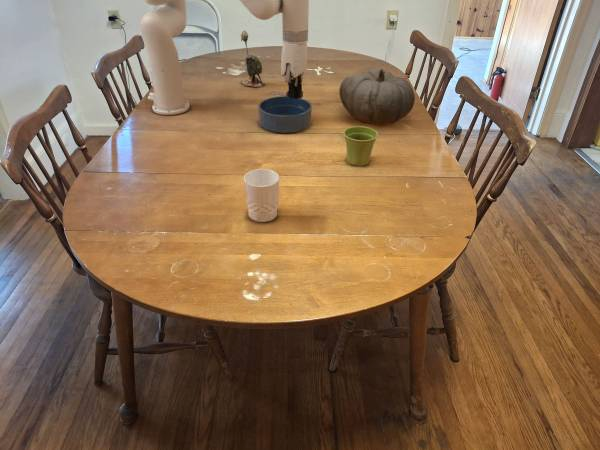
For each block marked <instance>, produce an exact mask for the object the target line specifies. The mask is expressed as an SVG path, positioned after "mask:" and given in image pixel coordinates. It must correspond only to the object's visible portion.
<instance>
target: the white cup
mask: <svg viewBox="0 0 600 450" xmlns="http://www.w3.org/2000/svg"><path fill="white" fill-rule="evenodd" d="M243 182H244V183H243V184H244V191H245V199H246V200H245V201H246V205H247V212H248V217H249V218H250V219H251V220H252V221H255V222H258V223H266V222H267V223H268V222H271V221H273V220H275V218H276V217H277V216H278V205H279V194H280V174H278V173H277V172H276V171H274V170H272V169H268V168H258V169H252V170H250V171H248V172H246V173H245V174H244V176H243Z"/></svg>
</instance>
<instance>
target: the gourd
mask: <svg viewBox="0 0 600 450" xmlns="http://www.w3.org/2000/svg"><path fill="white" fill-rule="evenodd" d="M338 90H339V91H338V93H339V98H340V102H341V104H342V106H343V107H344V108H345V110H346V111H347V112H348V113H349V115H350V116H351V117H353V118H354V119H355V120H357V121H362V122H365V123H366V124H374V125H380V126H385V125H390V124H391V125H392V124H395V123H397V122H398V121H401V120H402V119H403V118H405V117H406V116H407V115H408V114H409V113H410V112H412V109H414V108H413V107H414V106H415V101H416V99H415V97H416V96H415V92H414V88H413V87H412V85H411V84H410V83H409V81H408V80H407V79H405V78H403V77H401V76H395V75H394V74H392V73H391V72H390V71H385V70H384V69H383V68H371V69H367V70H366V71H363V72H361V73H360V74H357V75H349V76H347V77H345V78H344V79H343V80H342V81H341V83H340V85H339V89H338Z"/></svg>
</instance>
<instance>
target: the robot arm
mask: <svg viewBox="0 0 600 450" xmlns="http://www.w3.org/2000/svg"><path fill="white" fill-rule="evenodd" d="M239 1H240V2H241V4H242V5H243V7H245V8H246V9H247V10H248V12H249V13H250V14H251V15H253V16H254V18H256V19H259V20H261V21H267V20H270V19H271V18H273V17H274V16H276V15H279V14H282V15H281V16H282V17H281V18H282V19H281V20H282V22H281V23H282V47H281V48H282V49H281V58H280V59H281V60H280V76H281V77H285V79H284V81H285V83H287V86H288V90H289V98H295V99H298V95H299V91H303V78H304V77H303V76H304V74H305V72H306V71H307V70H308V42H309V7H310V5H309V3H310V0H239ZM144 2H145V3H146V4H147V5H150V6H152V7H154V6H155V7H157V8H154V9H152V10H149V11H148V12H146V13H145V14H144V15H143V16H142V18H141V20H140V22H139V23H140V24H139V31H140V34H141V37H142V39H143V40H142V41H143V42H144V46H145V49H146V53H147V58H148V63H149V70H150V75H151V81H152V87H153V92H149V94H148V96H147V100H148V101H152V102H153V104H152V106H151V107H152V108H151V109H152V111H153V112H154V113H156V114H158V115H160V116H161V115H162V116H175V115H180V114H183V113H185V112H187V111H189V110H190V108H191V106H190V102H189V101H187V100H186V99H185V95H184V94H185V93H184V86H183V79H182V72H181V64H180V58H179V53H178V49H177V47H176V44H175V43H174V38H176V37H178V36H179V35H181V34H183V32H184V31H185V29H186V26H187V5H186V0H144Z"/></svg>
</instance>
